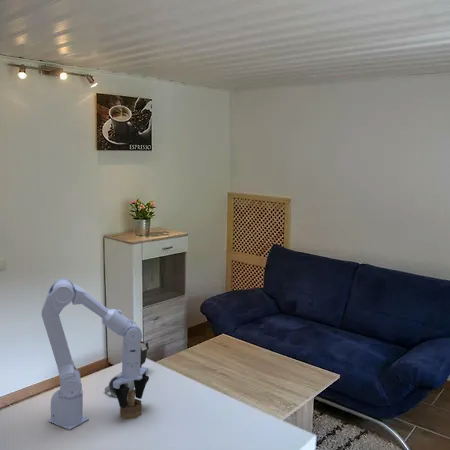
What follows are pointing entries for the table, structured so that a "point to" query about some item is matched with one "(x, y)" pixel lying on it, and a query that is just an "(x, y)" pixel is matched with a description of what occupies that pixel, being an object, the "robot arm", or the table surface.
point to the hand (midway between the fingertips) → (130, 402)
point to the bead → (131, 410)
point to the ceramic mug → (109, 388)
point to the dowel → (131, 398)
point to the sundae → (143, 352)
